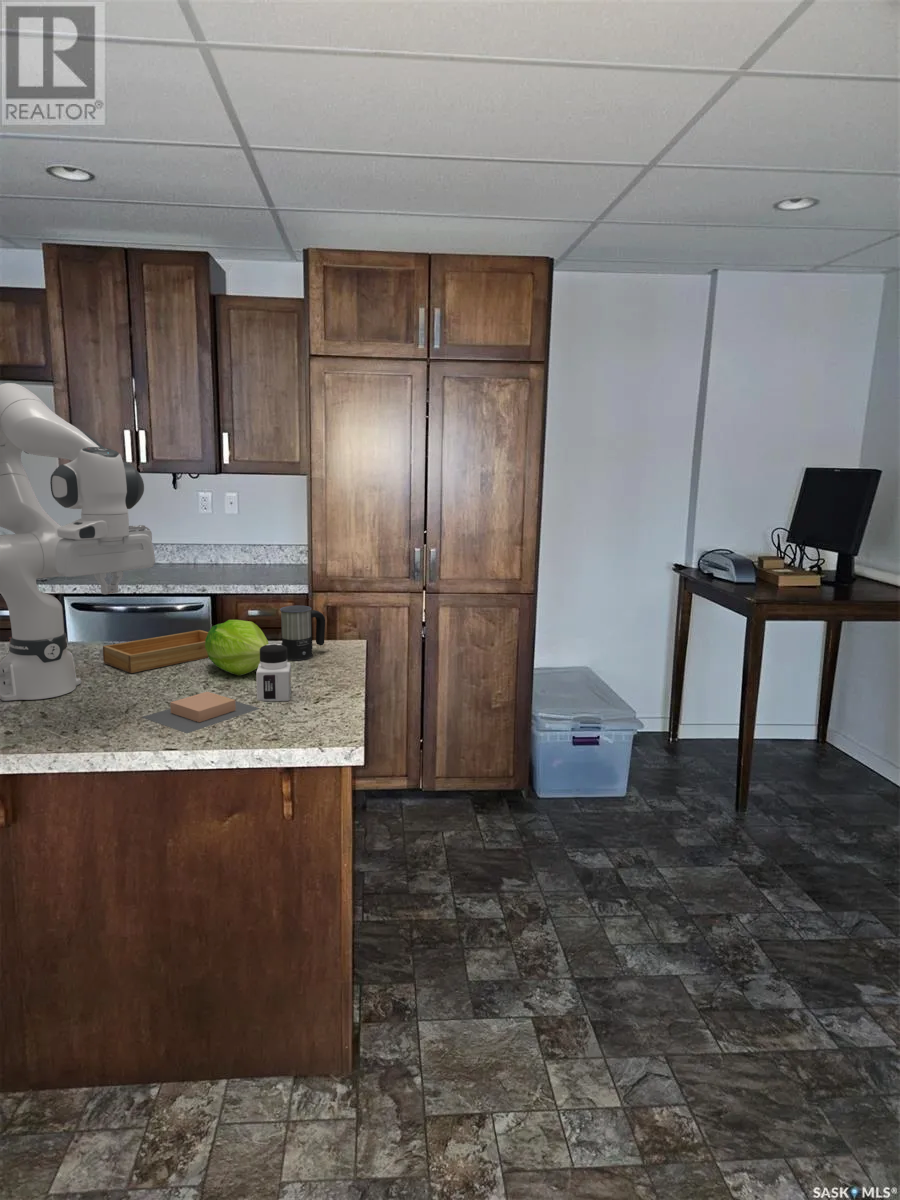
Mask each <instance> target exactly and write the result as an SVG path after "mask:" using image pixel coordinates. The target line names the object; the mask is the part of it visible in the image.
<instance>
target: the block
mask: <svg viewBox="0 0 900 1200" xmlns="http://www.w3.org/2000/svg"><path fill="white" fill-rule="evenodd" d="M235 701H236V699H234V698H229V697H228V696H224V695H220V694H217V693H214V692H210V691H204V692H201V693H198V694H194V695H192V696H191V695H190V696H187V697H184V698H181V699H177V700H174V701H170V703H169V704H170V708H171V713H173V714H176V715H179V716H182V717H185V718H188V719H191V720H194V721H197V722H202V721H205V720H208V719H211V718H214V717H217V716H220V715H223V714H226V713H229V712H232V711H235V710H236V706H235Z"/></svg>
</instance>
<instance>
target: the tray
mask: <svg viewBox="0 0 900 1200" xmlns="http://www.w3.org/2000/svg"><path fill="white" fill-rule="evenodd" d="M208 632H209V631H205V630H201V629H197V630H191V631H186V632H180V633H173V634H168V635H162V636H156V637H149V638H144V639H137V640H131V641H125V642H119V643H114V644H108V645H103V646H102V656H103V657H102V658H103V664H106V665H108V666H111V667H114V668H117V669H120V670H122V671H125V672H128V673H129V674H133V673H139V672H142V671H149V670H153V669H158V668H163V667H167V666H172V665H177V664H178V665H179V664H183V663H188V662H193V661H197V660H202V659H207V658H208V659H209V657H208V654H207V651H206V648H205V639H206V637H207V634H208Z"/></svg>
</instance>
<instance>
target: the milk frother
mask: <svg viewBox="0 0 900 1200" xmlns="http://www.w3.org/2000/svg"><path fill="white" fill-rule="evenodd" d="M279 610H280V612H281V613H280V614H281V615H280V617H281V618H280V619H281V620H280V621H281V643H280V644H281V645H284V646H286V647H287V661H303V660H309V659H311V658H312V657H314V656H313V628H312V627H313V626H312V619H313V618H315V620H316V621H315V643H316V644H317V645H318V646H323V645H324V644H325V636H326V634H325V633H326V618H325V615H324V613H322V612H321V611H319V610H315V609H312V607H311V606H307V605H287V606H283V607H281V608H280V609H279Z"/></svg>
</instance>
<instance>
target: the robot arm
mask: <svg viewBox="0 0 900 1200" xmlns="http://www.w3.org/2000/svg"><path fill="white" fill-rule="evenodd" d="M22 452H23V453H25V454H28V455H33V456H40V457H47V458H56V459H57V458H58V459H64V460H69V462H67V463H64V464H60V465H58V466H57V467H56V468H55V470H54V471H53V472H52V474H51V476H50V492H51V495H52V497H53V499H54V500H55V502H56V503H58V504H59V505H60V506H62V507H63V508H65V509H70V510H81V511H80V517H81V518H79V519H76V520H74V521H72V522H69V523H67V524H64V525H61V524H59V523H58V522H57V521H55V520H54V519H53V517H51V516H50V515H49V514H48V512H46V511H45V509H44V508H43V507H42V504H40V501H39V499H38V497H37V495H36V493H35V490H34V488H33V485H32V483H31V482H30V479H29V476H28V474H27V472H26V470H25V467H24V466H23V463H22V459H21V458H22V457H21V456H22ZM144 492H145V483H144V479H143V477H142V476H141V474H140V472H139V471H138V470H137V468H136V467H134V466H133V465H132V464H131V463H128V462H124V460H123V458H122V455H121V453H120V452H118V451H117V450H115V449H112V448H107V447H104V445H102V444H101V443H99V441H97V440H96V439H95V438H94V437H92V436H91V435H89V434H88V433H87V432H85V431H83V430H82V429H80V428H79V427H77V426H75V425H73V424H71V423H69V422H68V421H66V420H65V419H63V418H62V417H61V416H59V415H58V414H56V413H55V412H54V411H53V410H51V409H50V407H48V405H46V403H44V401H43V400H42V399H41V398H40V397H39V396H37V395H36V394H35V393H33V392H32V391H31V390H29V388H26V387H24V386H23V385H22V384H18V383H14V382H6V383H2V384H0V528H3V529H5V530H8V531H10V532H12V533H11V534H0V594H1V596H2V598H3V599H4V601H5V603H6V606H7V610H8V615H9V620H10V627H11V628H10V629H11V636H10V637H8V639H10V640H9V641H8V646H9V647H8V653H7V654H6V655H5V656H4V658H2V660H0V700H1V701H3V702H4V701H6V702H7V701H18V700H22V701H23V700H24V701H25V700H27V701H28V700H31V701H33V700H43V699H49V698H56V697H60V696H64V695H66V694H68V693H71V692H73V691H74V690H76V687H77V686H78V685H80V684H81V683H82V679H81V678H80V677H77V674H76V668H75V663H74V656H73V653H72V652H71V651H69V650H68V649H67V648H68V638H67V637H68V636H67V633H66V632H65V628H64V627H65V626H64V614H63V613H64V612H63V605H62V603H61V602H60V601H59V600H58V598H56V597H55V596H53V595H51V594H48V593H46V592H43V591H40V589H39V588H38V587H39V586H38V584H37V580H38V579H46V578H56V577H67V578H73V577H80V576H81V577H82V576H90V575H91V576H92V575H94V579H95V580H96V582H97V584H98V585H99V586H100V593H101V594H102V595H109V594H115V593H116V594H117V593H119V584H120V583H121V581H122V579H123V577H124V571H132V570H140V569H150V568H153V567H154V566H155V563H156V556H155V549H154V546H153V545H154V544H153V541H152V540H153V534H152V531H151V529H150V528H149V527H147V526H146V525H143V524H142V525H141V524H139V525H130V523H129V521H130V520H129V510H130V509H132V508H134V507H135V506H136V505H137V504H138V503H139V502H140V500H141V499H142V498H143V494H144ZM109 573H110V574H111V575H110V576H111V577H112V579H111V581H110V583H109V584H108V582H106V578H107V574H109Z"/></svg>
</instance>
